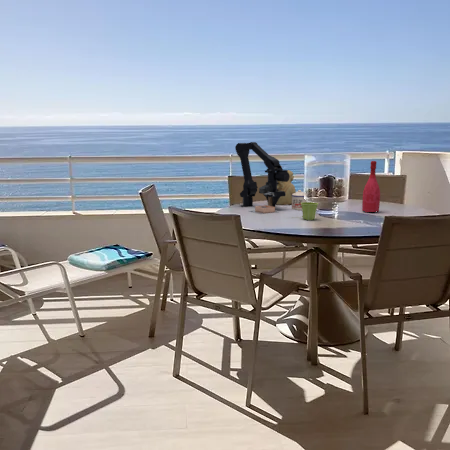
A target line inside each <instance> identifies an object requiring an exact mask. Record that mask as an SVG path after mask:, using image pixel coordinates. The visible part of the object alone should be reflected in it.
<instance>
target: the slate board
mask: <svg viewBox="0 0 450 450" xmlns="http://www.w3.org/2000/svg"><path fill="white" fill-rule="evenodd" d="M248 212H250V213H254V214H258V215H265V214H267V215H268V214H269V213H260V212H256V211H255V210H254V209H253V210H248ZM276 213H277V214H278V210H275V212H273V213H272V214H276Z"/></svg>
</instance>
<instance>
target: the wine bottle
mask: <svg viewBox="0 0 450 450" xmlns="http://www.w3.org/2000/svg"><path fill="white" fill-rule="evenodd" d="M377 163H378V162H377V160H371V161H370V168H369V169H370V175H369V178H368V179H367V181H366V184H365V185H364V189H363V191H362V205H361V207H362V208H361V211H362V212H363V211H365V212H364V213H366V212H376V211H378V212H379V211H380V203H381V202H380V201H381V189H380V185H379V183H378V180H377V178H376V177H377V176H376V169H377Z"/></svg>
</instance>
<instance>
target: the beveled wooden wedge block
mask: <svg viewBox="0 0 450 450" xmlns="http://www.w3.org/2000/svg"><path fill="white" fill-rule="evenodd" d="M267 205H268V206H272V207H273V202H272V197H268V202H267Z"/></svg>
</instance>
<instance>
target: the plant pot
mask: <svg viewBox="0 0 450 450" xmlns="http://www.w3.org/2000/svg"><path fill="white" fill-rule="evenodd" d="M318 205H319V203H318V202H310V201H309V202H308V201H306V202H302V203H301V206H302V210H301V211H302V220H306V221H312V220H313V221H315V219H316V213H317V209H318Z"/></svg>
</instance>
